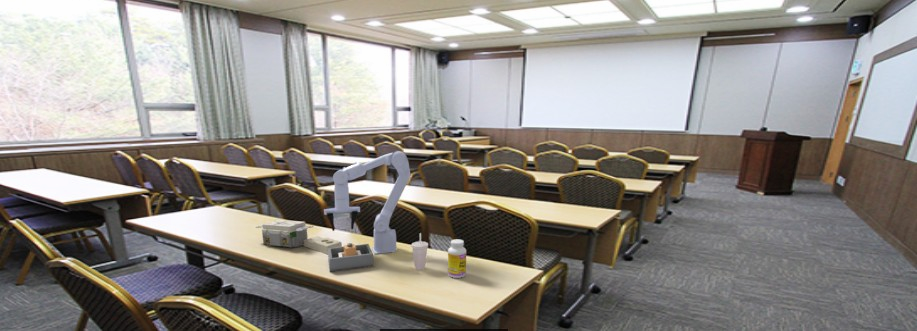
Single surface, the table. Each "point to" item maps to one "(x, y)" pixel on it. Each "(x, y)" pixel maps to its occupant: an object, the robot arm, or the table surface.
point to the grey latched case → (284, 233)
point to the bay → (350, 258)
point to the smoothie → (419, 254)
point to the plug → (349, 249)
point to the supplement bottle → (457, 259)
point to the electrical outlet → (321, 244)
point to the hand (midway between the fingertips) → (342, 229)
